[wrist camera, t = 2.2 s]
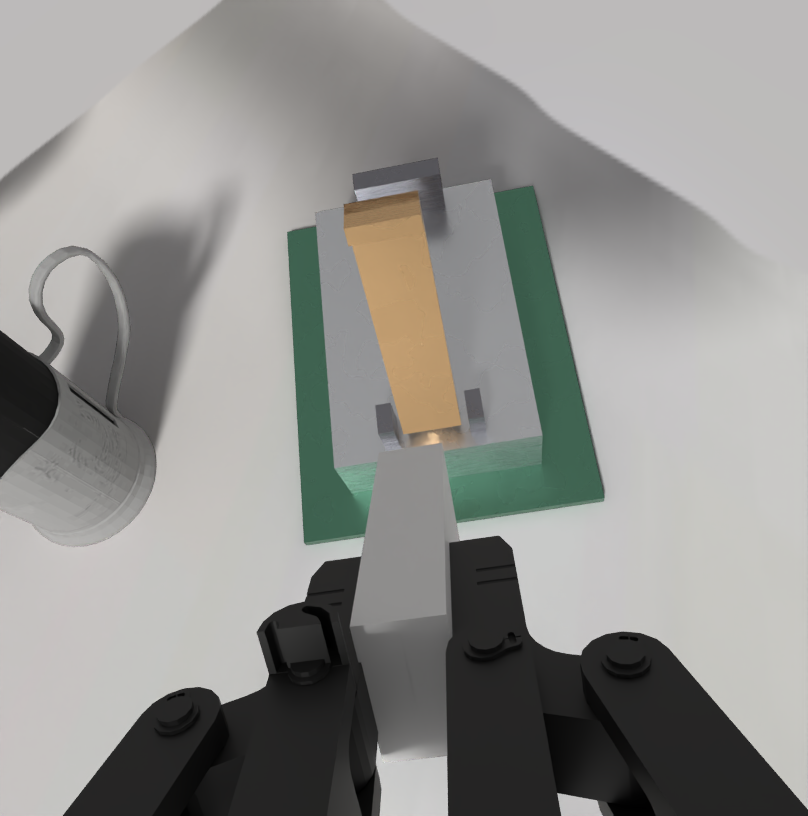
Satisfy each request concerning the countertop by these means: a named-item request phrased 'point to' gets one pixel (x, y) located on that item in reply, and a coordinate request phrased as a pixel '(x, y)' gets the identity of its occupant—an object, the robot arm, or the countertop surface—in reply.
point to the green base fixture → (468, 352)
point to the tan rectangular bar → (404, 308)
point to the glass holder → (69, 435)
